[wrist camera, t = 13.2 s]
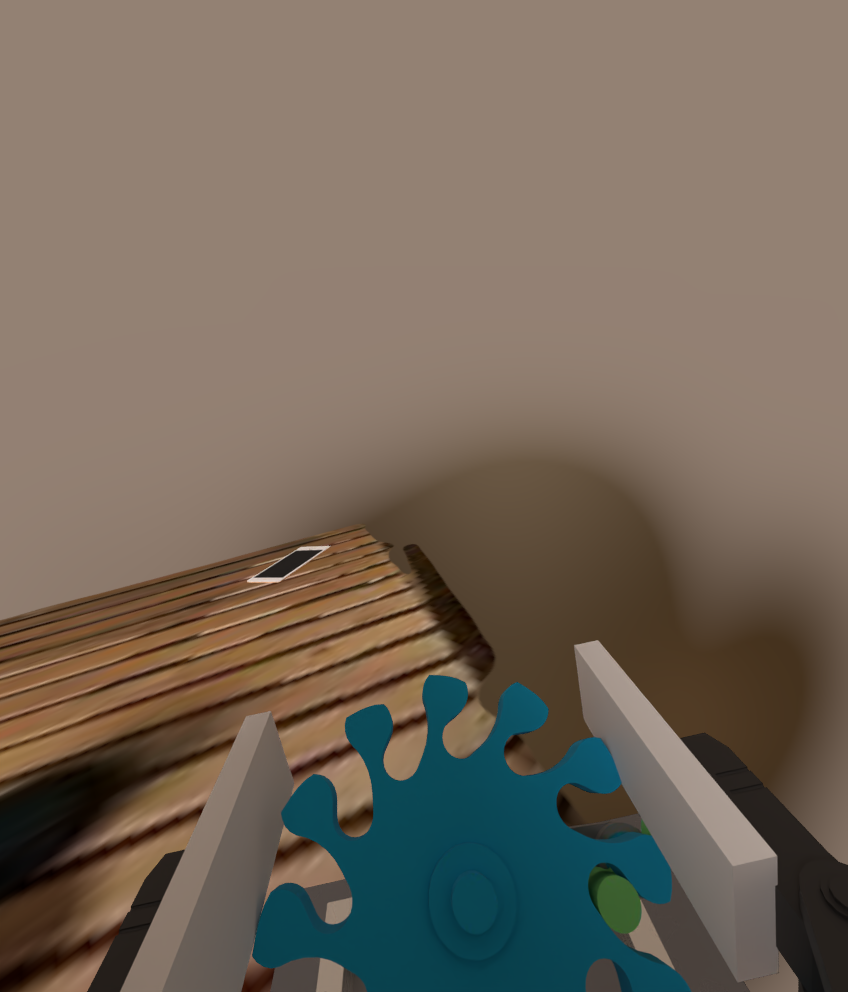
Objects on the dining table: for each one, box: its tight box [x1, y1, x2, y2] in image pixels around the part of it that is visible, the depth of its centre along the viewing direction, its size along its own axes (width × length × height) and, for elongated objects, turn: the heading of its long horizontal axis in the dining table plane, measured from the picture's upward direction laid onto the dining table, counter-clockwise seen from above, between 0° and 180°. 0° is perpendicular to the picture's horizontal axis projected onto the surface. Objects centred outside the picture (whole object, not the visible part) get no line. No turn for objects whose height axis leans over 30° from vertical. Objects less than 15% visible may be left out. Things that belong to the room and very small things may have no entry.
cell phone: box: [247, 546, 330, 583], centre depth 86 cm, size 8×16×1 cm, turn 157°
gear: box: [252, 675, 691, 992], centre depth 12 cm, size 11×6×10 cm
